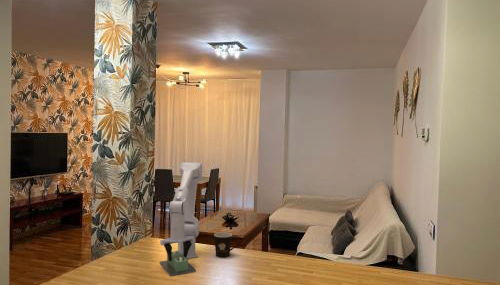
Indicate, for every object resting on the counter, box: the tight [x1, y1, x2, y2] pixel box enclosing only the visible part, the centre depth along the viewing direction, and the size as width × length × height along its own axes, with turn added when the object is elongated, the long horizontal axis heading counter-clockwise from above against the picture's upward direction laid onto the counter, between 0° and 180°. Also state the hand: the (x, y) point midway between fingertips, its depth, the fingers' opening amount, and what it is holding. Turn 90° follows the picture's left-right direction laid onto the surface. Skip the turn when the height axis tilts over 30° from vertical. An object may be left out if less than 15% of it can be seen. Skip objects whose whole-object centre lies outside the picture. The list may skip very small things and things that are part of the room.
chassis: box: [159, 250, 197, 277], centre depth 169 cm, size 16×11×6 cm
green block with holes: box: [166, 250, 189, 272], centre depth 169 cm, size 14×5×4 cm, turn 28°
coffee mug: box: [213, 231, 241, 259], centre depth 185 cm, size 12×9×10 cm
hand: (177, 259), depth 169 cm, fingers open, 6 cm apart
